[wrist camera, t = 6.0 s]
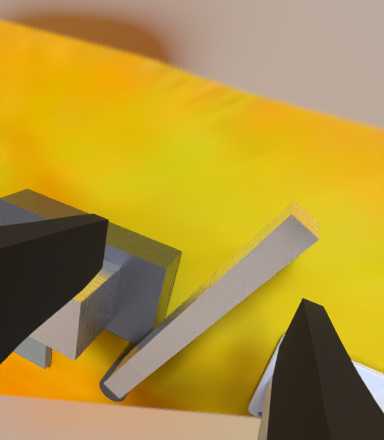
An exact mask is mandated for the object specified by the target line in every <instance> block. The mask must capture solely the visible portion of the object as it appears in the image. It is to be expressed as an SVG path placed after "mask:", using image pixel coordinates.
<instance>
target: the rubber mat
mask: <svg viewBox="0 0 384 440" xmlns="http://www.w3.org/2000/svg"><path fill="white" fill-rule="evenodd" d="M13 352H15V353H17V354H18V355H20V356H22V357H24V358H26V359H27V360H29V361H31V362H33V363H35V364H36V365H38V366H40V367H42V368H44V369H45V368H46V367H47V366H48V365H49V364H50V363H51V353H52V348H50V347H48V346H46V345H44V344H43V343H41V342H39V341H37V340H35V339H33V338H31V337H29V336H28V337H27V338H26V339H25V340H24V341H23V342H22V343H21V344H20V345H19V346H18V347H17V348H16V349H15V350H14V351H13Z"/></svg>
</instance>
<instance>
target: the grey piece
mask: <svg viewBox="0 0 384 440" xmlns="http://www.w3.org/2000/svg"><path fill="white" fill-rule="evenodd" d="M84 214H88V213H85V212H83V211H80V210H78V209H75V208H73V207H71V206H68V205H66V204H63V203H61V202H58V201H56V200H53V199H51V198H48V197H46V196H43V195H41V194H38V193H36V192H34V191H31V190H29V189H26V190H23V191H20V192H17V193H14V194H11V195H8V196H4V197H1V198H0V226H4V225H12V224H20V223H28V222H36V221H42V220H49V219H55V218H62V217H69V216H76V215H84ZM181 253H182V251H179V250H177V249H174V248H172V247H169V246H167V245H164V244H162V243H159V242H157V241H154V240H152V239H150V238H147V237H145V236H142V235H140V234H137V233H135V232H132V231H130V230H127V229H125V228H122V227H120V226H117V225H115V224H113V223H110V222H108V230H107V237H106V245H105V252H104V260H105V261H108V262H110V263H112V264H115V265H117V266H119V267H121V270H120V277H119V283H118V289H117V295H116V301H115V307H114V314H113V319H112V320H111V322H110V323H109V324H108V325H107V326H106V327H105V328H104V329H105V330H107V331H109V332H111V333H113V334H115V335H117V336H119V337H121V338H123V339H125V340H127V341H130V342H132V343H134V344H136V345H138V344H139V343H140V342H141V341H142V340H143V339H144V338H145V337H146V336H148V335H149V334H150V333H151V332H152V331H153V330H154V329H155V328H156V327H157V326H158V325H160V324H161V323H162V322H163V321H164V319H165V315H166V311H167V307H168V303H169V300H170V296H171V292H172V288H173V284H174V280H175V276H176V272H177V268H178V265H179V261H180V257H181Z"/></svg>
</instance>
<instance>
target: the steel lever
mask: <svg viewBox="0 0 384 440" xmlns="http://www.w3.org/2000/svg"><path fill="white" fill-rule="evenodd" d="M317 240H319V222H318V221H317V220H316V219H315V218H314V217H312V216H311V215H310V214H309V213H308V212H307V211H306V210H305V209H304V208H303V207H301V206H300V205H299V204H298V203H297V202H296V201H295V200H294V201H293V202H292V203H291V204H290V205H289V206H288V207H287V208H286V209H284V210H283V211H282V212H281V213H280V214H279V215H278V216H277V217H276V218H275V219H274V220H272V221H271V222H270V223H269V224H268V225H267V226H266V227H265V228H264V229H263V230H262V231H261V232H259V233H258V234H257V235H256V236H255V237H254V238H253V239H252V240H251V241H250V242H249V243H248V244H246V245H245V246H244V247H243V248H242V249H241V250H240V251H239V252H238V253H237V254H236V255H234V256H233V257H232V258H231V259H230V260H229V261H228V262H227V263H226V264H225V265H224V266H223V267H221V268H220V269H219V270H218V271H217V272H216V273H215V274H214V275H213V276H212V277H211V278H209V279H208V280H207V281H206V282H205V283H204V284H203V285H202V286H201V287H200V288H199V289H198V290H196V291H195V292H194V293H193V294H192V295H191V296H190V297H189V298H188V299H187V300H186V301H184V302H183V303H182V304H181V305H180V306H179V307H178V308H177V309H176V310H175V311H174V312H173V313H171V314H170V315H169V316H168V317H167V318H166V319H165V320H164V321H163V322H162V323H161V324H160V325H158V326H157V327H156V328H155V329H154V330H153V331H152V332H151V333H150V334H149V335H148V336H146V337H145V338H144V339H143V340H142V341H141V342H140V343H139V344H138V345H136V344H134V343H132V342H129V344H128V345H127V346H126V347H125V349H124V350H123V351H122V353H121V354H120V355H119V357H118V358H117V359H116V361H115V362H114V363H113V365H112V366H111V367H110V369H109V370H108V371H107V373H106V374H105V375H104V377H103V378H102V379H101V381H100V389H101V391H102V392H103V394H104V395H105V396H106V397H108V398H109V399H111V400H113V401H117V402H120V401H123V400H124V399H125V397H126V396H127V394H128V393H129V391H130V390H131V389H133V388H134V387H135V386H136V385H138V384H139V383H140V382H141V381H143V380H144V379H145V378H146V377H148V376H149V375H150V374H151V373H153V372H154V371H155V370H156V369H158V368H159V367H160V366H161V365H163V364H164V363H165V362H166V361H168V360H169V359H170V358H171V357H173V356H174V355H175V354H176V353H178V352H179V351H180V350H181V349H183V348H184V347H185V346H186V345H188V344H189V343H190V342H191V341H193V340H194V339H195V338H196V337H198V336H199V335H200V334H201V333H203V332H204V331H205V330H206V329H208V328H209V327H210V326H211V325H213V324H214V323H215V322H216V321H218V320H219V319H220V318H221V317H223V316H224V315H225V314H226V313H228V312H229V311H230V310H231V309H233V308H234V307H235V306H236V305H238V304H239V303H240V302H241V301H243V300H244V299H245V298H246V297H248V296H249V295H250V294H251V293H253V292H254V291H255V290H256V289H258V288H259V287H260V286H261V285H263V284H264V283H265V282H266V281H268V280H269V279H270V278H271V277H273V276H274V275H275V274H276V273H278V272H279V271H280V270H281V269H283V268H284V267H285V266H286V265H288V264H289V263H290V262H291V261H293V260H294V259H295V258H296V257H298V256H299V255H300V254H301V253H303V252H304V251H305V250H306V249H308V248H309V247H310V246H311V245H312V244H314V243H315V242H316V241H317Z"/></svg>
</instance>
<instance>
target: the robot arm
mask: <svg viewBox="0 0 384 440" xmlns="http://www.w3.org/2000/svg"><path fill="white" fill-rule="evenodd" d="M108 222H109V220H108V219H105V218H103V217H100V216H98V215H96V214H84V215H76V216H69V217H62V218H55V219H49V220H42V221H36V222H28V223H20V224H12V225H4V226H0V364H1V363H2V362H3V361H4V360H5V359H6V358H7V357H8V356H9V355H10V354H11V353H12V352H13V351H14V350H15V349H16V348H17V347H18V346H19V345H20V344H21V343H22V342H23V341H24V340H25V339H26V338H27V337H28V336H29V335H30V334H32V333H33V332H34V331H35V330H36V329H37V328H38V327H40V326H41V325H42V324H43V323H44V322H46V321H47V320H48V319H49V318H50V317H52V316H53V315H54V314H55V313H56V312H58V311H59V310H60V309H61V308H62V307H63V306H65V305H66V304H67V303H68V302H69V301H71V300H72V299H73V298H74V297H75V296H76V295H78V294H79V293H80V292H81V291H82V290H83V289H84V288H85V287H86V286H87V285H88V284H89V283H90V282H91V281H92V280H93V278H94V277H95V276H96V275H97V274H98V273H99V271H100V270H101V269H102V268H103V260H104V252H105V245H106V237H107V230H108ZM248 411H249V412H250V413H251V414H252V415H254V416H256V417H258V418H260V419H261V424H260V429H259V436H258V440H384V374H383V373H380V372H378V371H376V370H374V369H371V368H369V367H367V366H364V365H362V364H360V363H357V362H355V361H353V360H351V359H350V357H349V355H348V354H347V352H346V350H345V348H344V346H343V344H342V342H341V340H340V338H339V336H338V334H337V332H336V331H335V329H334V327H333V325H332V322H331V320H330V318H329V316H328V314H327V312H326V310H325V309H324V307H323V306H321V305H319V304H316V303H314V302H311V301H309V300H306V299H304V298H303V299H302V301H301V303H300V305H299V307H298V309H297V311H296V313H295V315H294V317H293V319H292V321H291V323H290V325H289V327H288V329H287V331H286V334H284V335H283V336H282V337H281V339H280V341H279V343H278V345H277V347H276V349H275V352H274V354H273V356H272V358H271V360H270V362H269V364H268V366H267V368H266V370H265V372H264V374H263V376H262V378H261V380H260V382H259V384H258V387H257V389H256V391H255V393H254V395H253V397H252V399H251V401H250V403H249V407H248Z"/></svg>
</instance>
